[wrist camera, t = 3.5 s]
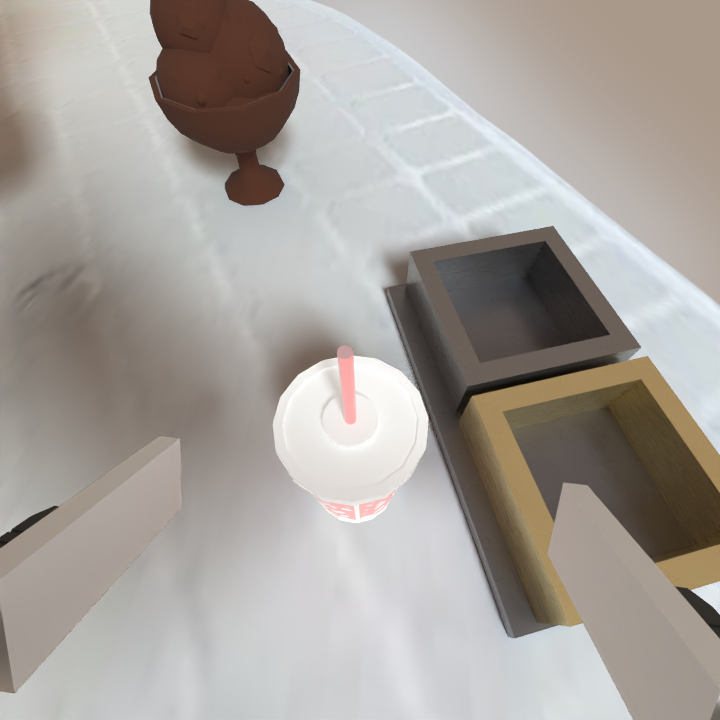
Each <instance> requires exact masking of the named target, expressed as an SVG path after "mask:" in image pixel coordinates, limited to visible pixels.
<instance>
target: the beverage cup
mask: <svg viewBox="0 0 720 720" xmlns="http://www.w3.org/2000/svg"><path fill="white" fill-rule="evenodd" d="M428 420H429V418H428V415H427V412H426V409H425V406H424V404H423V401H422V398H421V395H420V392H419V391H418V390H417V389H416V387H415V386H414V385H413V384H412V383H411V382H410V381H409V380H408V379H407V377H406V376H405V375H404V374H403V373H402V372H401V371H400V370H398V369H396V368H394V367H392V366H390V365H388V364H386V363H384V362H382V361H380V360H378V359H375V358H368V357H361V356H354V353H353V349H352V348H351V347H350V346H348V345H343V346H341V347H339V348H338V350H337V358H332V359H327V360H322V361H320V362H319V363H317V364H315V365H314V366H312V367H310V368H309V369H307V370H305V371H304V372H302V373H300V374H299V375H297V377H296V378H295V379H294V380H293V382H292V383H291V384H290V385H289V387H288V388H287V389H286V390H285V392H284V393H283V394H282V395H281V397H280V400H279V403H278V407H277V410H276V413H275V417H274V420H273V424H272V425H273V432H274V440H275V448H276V454H277V455H278V457H279V458H280V460H281V462H282V463H283V465H284V466H285V468H286V470H287V471H288V473H289V474H290V476H291V478H292V479H293V481H294V482H295V483H296V484H297V485H299V486H300V487H302V488H303V489H305V490H306V491H308V492H309V493H311V494H312V495H314V496H315V497H316V498H317V499H318V501H319V502H320V503H321V504H322V506H323V507H324V508H325V509H326V510H327V511H328V512H329V513H331V514H332V515H333V516H335V517H336V518H338V519H339V520H342V521H348V522H353V523H359V522H363V521H367V520H371V519H373V518H374V517H376V516H377V515H378V514H380V513H381V512H382V511H383V510H385V509H386V507H387V505H388V503H389V501H390V500H391V498H392V496H393V494H394V492H395V491H396V489H397V488H399V487H400V486H401V485H402V484H404V483H405V482H406V481H408V480H409V478H410V477H411V475H412V473H413V471H414V470H415V468H416V466H417V464H418V462H419V461H420V459H421V457H422V455H423V453H424V451H425V450H426V445H427V433H428Z"/></svg>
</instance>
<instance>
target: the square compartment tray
mask: <svg viewBox="0 0 720 720" xmlns="http://www.w3.org/2000/svg"><path fill="white" fill-rule="evenodd" d="M387 298H388V301H389V304H390V307H391V309H392V312H393V315H394V318H395V321H396V323H397V326H398V329H399V332H400V335H401V337H402V340H403V343H404V346H405V349H406V351H407V354H408V357H409V360H410V363H411V365H412V368H413V371H414V374H415V377H416V379H417V382H418V385H419V388H420V391H421V393H422V396H423V399H424V402H425V405H426V407H427V410H428V413H429V416H430V419H431V421H432V424H433V427H434V430H435V433H436V435H437V438H438V441H439V444H440V447H441V449H442V452H443V455H444V458H445V461H446V463H447V466H448V469H449V472H450V475H451V477H452V480H453V483H454V486H455V489H456V491H457V494H458V497H459V500H460V503H461V506H462V508H463V511H464V514H465V517H466V520H467V522H468V525H469V528H470V531H471V534H472V536H473V539H474V542H475V545H476V548H477V550H478V553H479V556H480V559H481V562H482V564H483V567H484V570H485V573H486V576H487V578H488V581H489V584H490V587H491V590H492V592H493V595H494V598H495V601H496V604H497V606H498V609H499V612H500V615H501V618H502V620H503V623H504V626H505V629H506V632H507V634H508V637H512V638H518V637H521V636H524V635H527V634H531V633H534V632H537V631H541V630H544V629H547V628H550V627H554V626H557V625H561V626H570V627H571V626H574V625H577V624H581V623H583V622H582V620H581V618H580V616H579V614H578V612H577V610H576V608H575V606H574V604H573V602H572V600H571V599H570V597H569V595H568V593H567V591H566V589H565V587H564V585H563V583H562V581H561V579H560V577H559V575H558V573H557V571H556V570H555V568H554V566H553V564H552V562H551V560H550V558H549V556H548V550H549V545H550V541H551V536H552V532H553V527H554V523H555V518H556V513H557V509H558V504H559V500H560V495H561V490H562V486H563V483H572V484H581V485H588V487H589V488H590V489H591V490H592V491H593V492H594V494H595V495H596V496H597V497H598V498H599V499H600V501H601V502H602V503H603V504H604V505H605V506H606V507H607V509H608V510H609V511H610V512H611V513H612V514H613V516H614V517H615V518H616V519H617V520H618V521H619V523H620V524H621V525H622V526H623V527H624V528H625V530H626V531H627V532H628V533H629V534H630V535H631V536H632V538H633V539H634V540H635V541H636V542H637V543H638V545H639V546H640V547H641V548H642V549H643V550H644V552H645V553H646V554H647V555H648V556H649V557H650V559H651V560H652V561H653V562H654V563H655V564H656V565H657V567H658V568H659V569H660V570H661V571H662V572H663V574H664V575H665V576H666V577H667V578H668V579H669V581H670V582H671V583H672V584H673V585H674V586H676V587H684V588H688V589H689V590H692V589H695V588H699V587H702V586H705V585H708V584H712V583H715V582H718V581H720V455H719V454H718V452H717V451H716V449H715V448H714V447H713V445H712V444H711V443H710V441H709V440H708V438H707V437H706V436H705V434H704V433H703V432H702V430H701V429H700V427H699V426H698V425H697V423H696V422H695V421H694V419H693V418H692V416H691V415H690V414H689V412H688V411H687V410H686V408H685V407H684V405H683V404H682V403H681V401H680V400H679V399H678V397H677V396H676V394H675V393H674V392H673V390H672V389H671V388H670V386H669V385H668V383H667V382H666V381H665V379H664V378H663V377H662V375H661V374H660V372H659V371H658V370H657V368H656V367H655V366H654V364H653V363H652V361H651V360H650V359H649V357H648V356H646V357H642V358H637V359H633V360H629V361H627V360H628V359H629V358H630V357H632V356H633V355H634V354H635V353H636V352H637V351H638V350H639V349H640V348H641V346H640V345H639V344H638V342H637V341H636V339H635V338H634V337H633V335H632V334H631V333H630V331H629V330H628V328H627V327H626V326H625V324H624V323H623V322H622V320H621V319H620V317H619V316H618V315H617V313H616V312H615V311H614V309H613V308H612V306H611V305H610V304H609V302H608V301H607V300H606V298H605V297H604V295H603V294H602V293H601V291H600V290H599V289H598V287H597V286H596V284H595V283H594V282H593V280H592V279H591V278H590V276H589V275H588V273H587V272H586V271H585V269H584V268H583V267H582V265H581V264H580V262H579V261H578V260H577V258H576V257H575V256H574V254H573V253H572V251H571V250H570V249H569V247H568V246H567V245H566V243H565V242H564V240H563V239H562V238H561V236H560V235H559V234H558V232H557V231H556V229H555V228H554V227H553V226H551V227H545V228H540V229H534V230H529V231H523V232H518V233H512V234H507V235H501V236H496V237H490V238H485V239H479V240H474V241H468V242H463V243H457V244H452V245H446V246H441V247H435V248H430V249H424V250H419V251H413V252H410V257H409V264H408V272H407V280H406V284H404V285H399V286H394V287H389V288H388V289H387Z"/></svg>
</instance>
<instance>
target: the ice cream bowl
mask: <svg viewBox="0 0 720 720" xmlns="http://www.w3.org/2000/svg"><path fill="white" fill-rule="evenodd" d="M150 15H151V19H152V23H153V27H154V30H155V33H156V36H157V38H158V41H159V43H160V44H161V46H162V48H163V49H162V51H161V53H160V55H159V57H158V59H157V67H156V71H155V72H154V73H153V74H152V75H151V76H150V77H149V80H150V84H151V87H152V90H153V94H154V97H155V100H156V102H157V103H158V105H159V106H160V108H161V110H162V111H163V113H164V114H165V116H166V118H167V119H168V120H169V121H170V122H171V124H172V125H173V126H174V127H175V128H176V129H177V130H178V131H179V132H180V133H181V134H183V135H185V136H187V137H189V138H190V139H192V140H194V141H196V142H198V143H200V144H203V145H205V146H208V147H210V148H213V149H216V150H218V151H221V152H225V153H235V154H236V156H237V159H238V163H239V167H240V169H238V170H236V171H234V172H232V173H231V175H230V177H229V178H228V180H227V181H226V183H225V190H226V192H227V195H228V197H229V199H230V200H232V201H234V202H237V203H239V204H241V205H259V204H264V203H266V202H268V201H270V200H272V199H274V198H276V197H278V196H279V194H280V192H281V190H282V189H283V187H284V183H283V181H282V179H281V177H280V175H279V173H278V172H277V170H275V169H273V168H270V167H267V166H265V165H259V163H258V159H257V156H256V149H257V148H260V147H262V146H264V145H266V144H267V143H269V142H270V141H272V140H273V139H274V138H275V137H276V136H277V134H278V133H279V132H280V130H281V129H282V128H283V126H284V124H285V123H286V121H287V119H288V118H289V116H290V114H291V113H292V111H293V109H294V108H295V104H296V100H297V97H298V93H299V82H300V69H299V67H298V66H297V65H296V63H295V62H294V61H293V59H292V58H291V56H290V55H289V54H288V52H287V51H286V50H285V46H284V43H283V40H282V38H281V37H280V35H279V33H278V30H277V27H276V26H275V25H274V24H273V23H272V22H271V20H270V19H269V18H268V16H267V15H266V14H265V13H264V12H263V11H262V10H261V9H260V8H259V7H258V6H257V5H256V4H255V3H254V2H252V1H249V0H150Z"/></svg>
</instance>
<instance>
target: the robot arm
mask: <svg viewBox="0 0 720 720" xmlns="http://www.w3.org/2000/svg"><path fill="white" fill-rule="evenodd" d="M181 508H182V480H181V448H180V438H174V437H165V436H159V437H157V438H156V439H154V440H153V441H151V442H150V443H149V444H147V445H146V446H144V447H143V448H142V449H140V450H139V451H137V452H136V453H134V454H133V455H132V456H130V457H129V458H127V459H126V460H125V461H123V462H122V463H120V464H119V465H118V466H116V467H115V468H113V469H112V470H110V471H109V472H108V473H106V474H105V475H103V476H102V477H101V478H99V479H98V480H96V481H95V482H93V483H92V484H91V485H89V486H88V487H86V488H85V489H84V490H82V491H81V492H79V493H78V494H77V495H75V496H74V497H72V498H71V499H69V500H68V501H67V502H65V503H64V504H62V505H61V506H60V507H59V506H53V507H51V508H49V509H46V510H44V511H42V512H39V513H37V514H35V515H33V516H31V517H29V518H28V519H26V520H25V521H23V522H22V523H20V524H19V525H17V526H16V527H14V528H13V529H12V531H11V532H7V533H6V534H4V535H3V536H1V537H0V691H3V692H9V693H16V692H17V690H18V689H19V688H20V687H21V686H22V685H23V684H24V683H25V682H26V680H27V679H28V678H29V677H30V676H31V675H32V674H33V673H34V672H35V670H36V669H37V668H38V667H39V666H40V665H41V664H42V663H43V662H44V660H45V659H46V658H47V657H48V656H49V655H50V654H51V653H52V652H53V650H54V649H55V648H56V647H57V646H58V645H59V644H60V643H61V642H62V640H63V639H64V638H65V637H66V636H67V635H68V634H69V633H70V632H71V630H72V629H73V628H74V627H75V626H76V625H77V624H78V623H79V622H80V620H81V619H82V618H83V617H84V616H85V615H86V614H87V613H88V612H89V610H90V609H91V608H92V607H93V606H94V605H95V604H96V603H97V601H98V600H99V599H100V598H101V597H102V596H103V595H104V594H105V593H106V591H107V590H108V589H109V588H110V587H111V586H112V585H113V584H114V583H115V581H116V580H117V579H118V578H119V577H120V576H121V575H122V574H123V573H124V571H125V570H126V569H127V568H128V567H129V566H130V565H131V564H132V563H133V561H134V560H135V559H136V558H137V557H138V556H139V555H140V554H141V553H142V551H143V550H144V549H145V548H146V547H147V546H148V545H149V544H150V543H151V541H152V540H153V539H154V538H155V537H156V536H157V535H158V534H159V533H160V531H161V530H162V529H163V528H164V527H165V526H166V525H167V524H168V523H169V521H170V520H171V519H172V518H173V517H174V516H175V515H176V514H177V513H178V511H179V510H180V509H181ZM548 556H549V558H550V560H551V562H552V564H553V566H554V568H555V570H556V571H557V573H558V575H559V577H560V579H561V581H562V583H563V585H564V587H565V589H566V591H567V593H568V595H569V597H570V599H571V600H572V602H573V604H574V606H575V608H576V610H577V612H578V614H579V616H580V618H581V620H582V622H583V624H584V626H585V628H586V629H587V631H588V633H589V635H590V637H591V639H592V641H593V643H594V645H595V647H596V649H597V651H598V653H599V655H600V657H601V658H602V660H603V662H604V664H605V666H606V668H607V670H608V672H609V674H610V676H611V678H612V680H613V682H614V684H615V685H616V687H617V689H618V691H619V693H620V695H621V697H622V699H623V701H624V703H625V705H626V707H627V709H628V711H629V713H630V714H631V716H632V718H633V720H720V615H719V614H718V612H717V611H716V610H715V609H714V608H713V607H712V606H711V605H709V604H708V603H707V602H705V601H704V600H703V599H701V598H700V597H699V596H697V595H696V594H695V593H693V592H692V591H691V590H689V589H688V588H684V587H676V586H674V585H673V584H672V583H671V582H670V581H669V579H668V578H667V577H666V576H665V575H664V574H663V572H662V571H661V570H660V569H659V568H658V567H657V565H656V564H655V563H654V562H653V561H652V560H651V559H650V557H649V556H648V555H647V554H646V553H645V552H644V550H643V549H642V548H641V547H640V546H639V545H638V543H637V542H636V541H635V540H634V539H633V538H632V536H631V535H630V534H629V533H628V532H627V531H626V530H625V528H624V527H623V526H622V525H621V524H620V523H619V521H618V520H617V519H616V518H615V517H614V516H613V514H612V513H611V512H610V511H609V510H608V509H607V507H606V506H605V505H604V504H603V503H602V502H601V501H600V499H599V498H598V497H597V496H596V495H595V494H594V492H593V491H592V490H591V489H590V488H589V487H588V485H581V484H572V483H563V486H562V490H561V495H560V500H559V504H558V509H557V513H556V518H555V523H554V527H553V532H552V536H551V541H550V545H549V550H548Z"/></svg>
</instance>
